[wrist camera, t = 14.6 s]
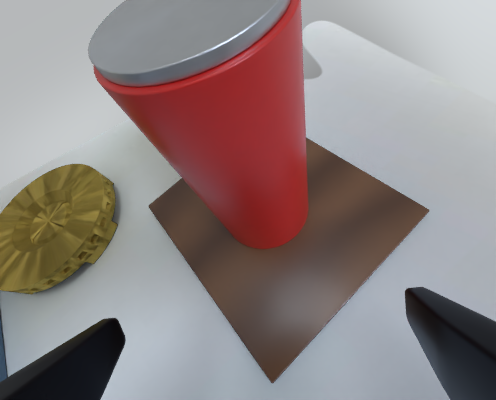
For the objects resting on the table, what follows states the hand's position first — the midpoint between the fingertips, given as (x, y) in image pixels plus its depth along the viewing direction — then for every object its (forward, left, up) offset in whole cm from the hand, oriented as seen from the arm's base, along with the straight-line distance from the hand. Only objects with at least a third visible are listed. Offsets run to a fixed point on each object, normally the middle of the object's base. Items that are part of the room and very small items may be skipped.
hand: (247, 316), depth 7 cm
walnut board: (+6, -5, -8) cm, 11 cm away
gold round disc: (+19, +10, -8) cm, 23 cm away
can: (+6, -5, -8) cm, 11 cm away
